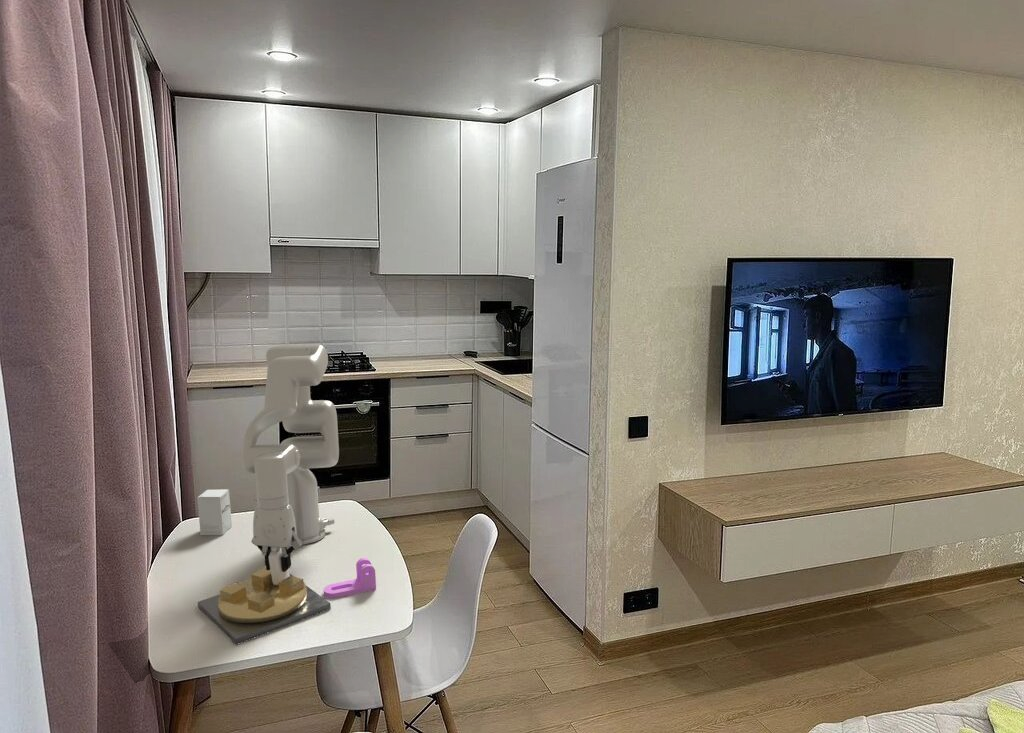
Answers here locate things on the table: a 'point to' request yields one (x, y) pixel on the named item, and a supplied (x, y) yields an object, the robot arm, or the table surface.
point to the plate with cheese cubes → (261, 598)
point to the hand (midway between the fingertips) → (278, 568)
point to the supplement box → (214, 512)
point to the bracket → (354, 581)
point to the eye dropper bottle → (277, 565)
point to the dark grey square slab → (251, 630)
